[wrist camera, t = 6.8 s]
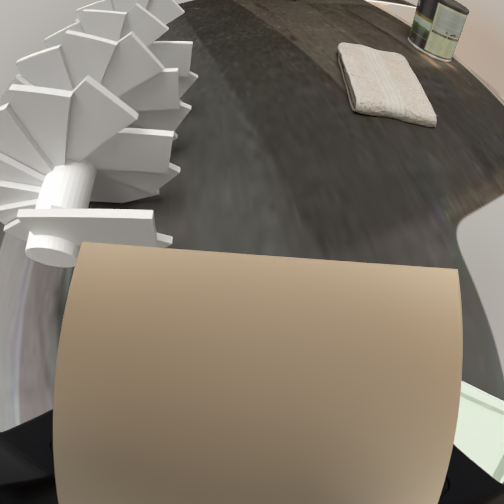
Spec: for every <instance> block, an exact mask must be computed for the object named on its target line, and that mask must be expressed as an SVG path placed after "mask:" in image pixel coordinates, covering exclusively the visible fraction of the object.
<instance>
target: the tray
mask: <svg viewBox="0 0 504 504" xmlns="http://www.w3.org/2000/svg"><path fill="white" fill-rule="evenodd" d="M453 444H454V445H455V446H456V447H457V448H458V449H460V450H461V451H462V452H463V453H464V454H465V455H466V456H468V457H469V458H470V459H471V460H472V461H474V462H475V463H476V464H477V465H478V466H480V467H481V468H482V469H483V470H484V471H486V472H487V473H488V474H489V475H491V476H492V477H493V478H494V479H496V480H497V481H498V482H500V483H503V481H504V401H502V400H500V399H498V398H496V397H494V396H492V395H490V394H488V393H486V392H484V391H482V390H480V389H478V388H475V387H473V386H471V385H469V384H467V383H465V382H463V381H461V393H460V403H459V411H458V419H457V426H456V432H455V438H454V443H453Z"/></svg>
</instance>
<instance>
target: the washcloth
mask: <svg viewBox="0 0 504 504" xmlns="http://www.w3.org/2000/svg"><path fill="white" fill-rule="evenodd" d="M338 54H339V55H338V62H339V65H340V68H341V71H342V75H343V79H344V82H345V85H346V89H347V92H348V97H349V101H350V105H351V108H352V110H353V111H356V112H357V113H361V114H367V115H373V116H374V115H375V116H378V117H381V116H385V117H389V118H394V119H399V120H402V121H403V122H408V123H413V124H418V125H423V126H426V127H433V126H434V127H435V126H436V122H437V119H436V117H437V116H436V115H435V113H434V110H433V108H432V106H431V104H430V102H429V100H428V98H427V96H426V94H425V93H424V90H423V88H422V86H421V84H420V83H419V81H418V79H417V77H416V75H415V74H414V72H413V71H412V69H411V68H410V66H409V64H408V62H407V60H406V59H405V57H403V56H402V55H400V54H398V53H394V52H385V51H379V50H375V49H372V48H369V47H366V46H363V45H357V44H350V43H340V44H339V46H338Z"/></svg>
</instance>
